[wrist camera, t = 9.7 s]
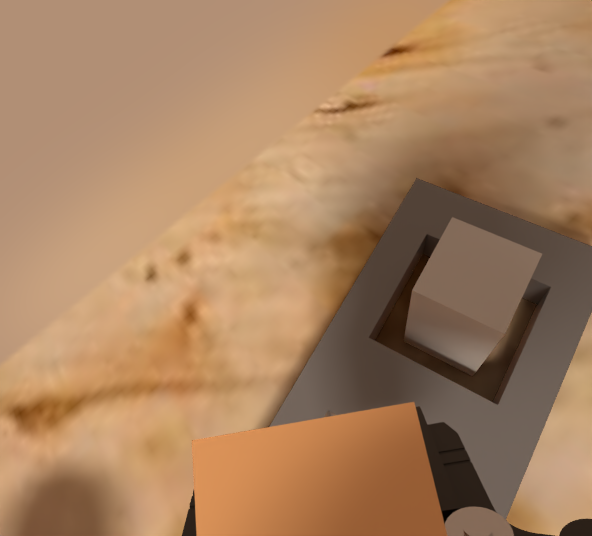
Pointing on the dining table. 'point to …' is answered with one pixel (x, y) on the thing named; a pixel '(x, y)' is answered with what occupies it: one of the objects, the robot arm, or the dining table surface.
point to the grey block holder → (457, 329)
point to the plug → (319, 478)
